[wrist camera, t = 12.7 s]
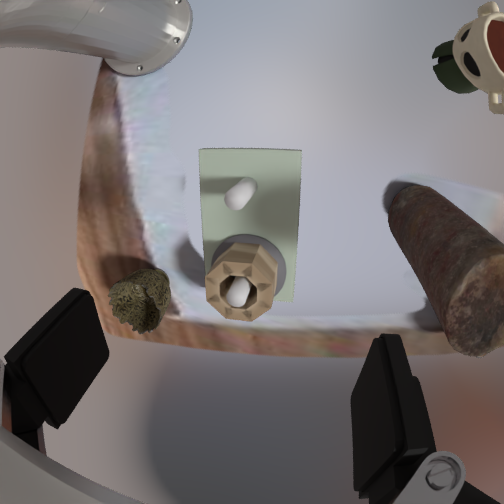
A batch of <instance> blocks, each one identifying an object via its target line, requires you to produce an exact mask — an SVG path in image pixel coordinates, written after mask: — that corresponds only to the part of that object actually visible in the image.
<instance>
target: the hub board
mask: <svg viewBox="0 0 504 504" xmlns="http://www.w3.org/2000/svg"><path fill="white" fill-rule="evenodd" d="M301 159H302V150H291V149H266V148H265V149H264V148H203V149H199V170H200V171H199V172H200V196H201V216H202V234H203V250H204V264H205V276H206V275H207V273H208V272H209V270H210V269H211V267H212V266H213V264H214V263H215V261H216V260H217V258H218V257H219V256H220V255H221V254H222V253H224V252H225V251H226V250H227V249H228V248H229V247H230V246H231V245H232V244H234V243H235V242H237V243H251V244H261V246H262V247H263V248H264V249H265V250H266V251H267V252H268V253H269V254H270V255H271V256H272V257H273V258H274V259H275V260H276V261H277V262H278V269H277V286H276V290H275V294H274V298H273V300H274V301H284V302H285V301H286V302H293V297H294V285H295V272H296V257H297V241H298V226H299V206H300V184H301ZM231 276H232V277H233V278H234V281H233V283H232V285H231V287H230V289H229V291H228V293H227V296H226V298H227V301H228V303H229V304H230V305H232V306H234V307H240V306H243V305H244V304H245V302H246V299H247V296H248V294H249V291H250V289H251V286H255V285H254V284H253V283H252V282H251V281H250V280H249V279H248V278H247V277H243V276H233V275H231Z"/></svg>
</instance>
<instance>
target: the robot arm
mask: <svg viewBox="0 0 504 504" xmlns="http://www.w3.org/2000/svg"><path fill="white" fill-rule="evenodd" d="M180 2H181V3H180ZM192 21H193V17H192V10H191V6H190V4H189V2H188V1H187V0H0V48H4V47H22V48H37V49H47V50H56V51H65V52H72V53H79V54H85V55H92V56H98V57H103V58H104V59H105V61H106V63H107V64H108V65H109V66H110V67H111V68H112V69H113V70H115V71H117V72H119V73H121V74H126V75H134V76H138V75H145V74H148V73H151V72H154V71H156V70H158V69H160V68H162V67H163V66H165V65H166V64H168V63H169V62H170V61H171V60H172V59H173V58H174V57H175V56H176V55H177V54H178V53H179V52H180V50H181V49H182V48H183V46H184V45H185V43H186V41H187V39H188V37H189V35H190V31H191V29H192ZM179 40H180V42H179V43H178V41H179ZM142 68H143V69H142ZM108 357H109V349H108V346H107V343H106V340H105V336H104V333H103V330H102V327H101V323H100V320H99V317H98V313H97V309H96V306H95V302H94V299H93V297H92V296H91V294H90V292H89V291H87V290H83V289H79V288H73V289H71V290H70V291H69V292H68V293H67V294H66V295H65V296H64V297H63V298H62V299H61V300H59V302H57V303H56V304H55V305H54V306H53V307H52V308H51V309H50V310H49V311H48V312H47V313H46V314H45V315H44V316H43V317H42V318H41V319H40V320H39V321H38V322H37V323H36V324H35V325H34V326H33V327H32V328H31V329H30V330H29V331H28V332H27V333H26V334H25V335H24V336H23V337H22V338H21V339H20V340H19V341H18V342H17V343H16V344H15V345H14V346H13V347H12V348H11V349H10V350H9V351H8V353H7V354H6V355H5V356H4V358H5V360H6V362H7V364H6V365H4V363H3V361H2V360H1V359H0V504H147V503H144V502H141V501H139V500H136V499H133V498H131V497H128V496H125V495H123V494H121V493H118V492H116V491H114V490H111V489H109V488H107V487H104V486H102V485H100V484H98V483H96V482H94V481H92V480H90V479H88V478H86V477H84V476H82V475H80V474H78V473H76V472H74V471H72V470H70V469H68V468H66V467H64V466H63V465H61V464H59V463H57V462H56V461H54V460H52V459H50V458H49V457H47V455H46V448H45V442H44V434H43V426H42V424H43V422H44V421H46V423H47V424H49V425H50V426H52V427H54V428H56V429H58V428H59V427H60V425H61V424H63V423H65V422H66V421H67V419H68V418H69V416H70V414H71V413H72V412H73V410H74V409H75V407H76V406H77V404H78V402H79V401H80V399H81V398H82V396H83V395H84V393H85V392H86V391H87V389H88V388H89V386H90V385H91V383H92V382H93V380H94V379H95V377H96V376H97V374H98V373H99V372H100V370H101V369H102V367H103V366H104V364H105V363H106V362H107V360H108ZM351 417H352V436H353V469H354V470H353V471H354V472H353V475H354V476H353V479H354V490H355V491H359V499H365V498H369V504H500V503H499V502H497V501H496V500H494V499H493V498H491V497H489V496H488V495H486V494H484V493H483V492H482V491H480V490H479V489H477V488H475V487H474V486H472V485H471V484H469V483H468V482H466V481H465V476H466V470H465V467H464V464H463V462H462V461H461V459H460V458H458V457H457V456H456V455H455V454H453V453H450V452H447V451H439V452H437V451H436V447H435V441H434V437H433V432H432V428H431V423H430V419H429V416H428V411H427V407H426V403H425V400H424V396H423V392H422V389H421V385H420V382H419V380H418V378H417V377H415V376H412V373H411V370H410V366H409V363H408V360H407V356H406V353H405V349H404V346H403V343H402V340H401V337H400V335H398V334H381V335H380V336H379V338H374V340H373V342H372V345H371V347H370V350H369V353H368V355H367V358H366V361H365V363H364V365H363V368H362V371H361V373H360V375H359V378H358V380H357V383H356V385H355V387H354V389H353V392H352V395H351Z"/></svg>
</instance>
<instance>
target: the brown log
mask: <svg viewBox="0 0 504 504" xmlns="http://www.w3.org/2000/svg"><path fill="white" fill-rule="evenodd" d="M388 223H389V227H390V230H391V232H392V234H393V236H394V238H395V239H396V241H397V243H398V245H399V247H400V248H401V250H402V252H403V253H404V255H405V257H406V258H407V260H408V262H409V263H410V265H411V267H412V268H413V270H414V272H415V274H416V276H417V277H418V279H419V281H420V283H421V285H422V287H423V289H424V291H425V293H426V295H427V297H428V299H429V301H430V303H431V305H432V307H433V309H434V311H435V313H436V315H437V317H438V319H439V321H440V324H441V326H442V328H443V330H444V332H445V334H446V337H447V339H448V342H449V343H450V345H451V346H452V347H453V349H454V350H456V351H458V352H460V353H462V354H464V355H468V356H479V357H481V356H482V355H484V354H486V353H489V352H491V351H493V350H495V349H497V348H499V347H501V346H503V345H504V244H503V243H502V242H500V241H499V240H498V239H497V238H495V237H494V236H493V235H492V234H490V233H489V232H488V231H487V230H486V229H485V228H484V227H482V226H481V225H480V224H479V223H477V222H476V221H475V220H473V219H472V218H471V217H469V216H468V215H467V214H466V213H464V212H463V211H462V210H461V209H459V208H458V207H457V206H455V205H454V204H453V203H452V202H450V201H449V200H448V199H446V198H445V197H444V196H442V195H441V194H439V193H438V192H437V191H435V190H434V189H432V188H430V187H427V186H419V185H416V186H410V187H407V188H405V189H403V190H401V191H400V193H398V194H397V196H396V197H395V198H394V200H393V202H392V205H391V207H390V210H389V214H388Z"/></svg>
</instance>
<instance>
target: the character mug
mask: <svg viewBox="0 0 504 504" xmlns="http://www.w3.org/2000/svg"><path fill="white" fill-rule="evenodd" d="M478 16H479V18H477V19H475V20H473V21H471V22H469V23H467V24H465V25H464V26H463V27H462V28H461V29H460V30H459V31H458V33H457V34H456V36H455V39H454V40H451V41H448V42H445V43H442V44H441V45H439V46H438V47H436V48H435V51H434V53H433V55H432V59H434V58H437V57H439V58H438V64H437V65H435V66H433V70H434V72H435V74H436V75H437V78H438V80H439V81H440V82H441V83H442V84H443V85H444V86H445V87H446V88H447V89H449V90H451V91H454V92H456V93H459V94H461V93H471V92H473V91H476V90H478V89H480V90H482V91H484V92H486V93H487V94H488V98H489V109H490V111H491V112H493V113H494V114H504V13H502V12H499V8H498V6H497V4H496V3H495V2H487V3H486V4H484V5H482V6H480V7H479V8H478ZM500 94H502V103H498V95H500Z"/></svg>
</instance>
